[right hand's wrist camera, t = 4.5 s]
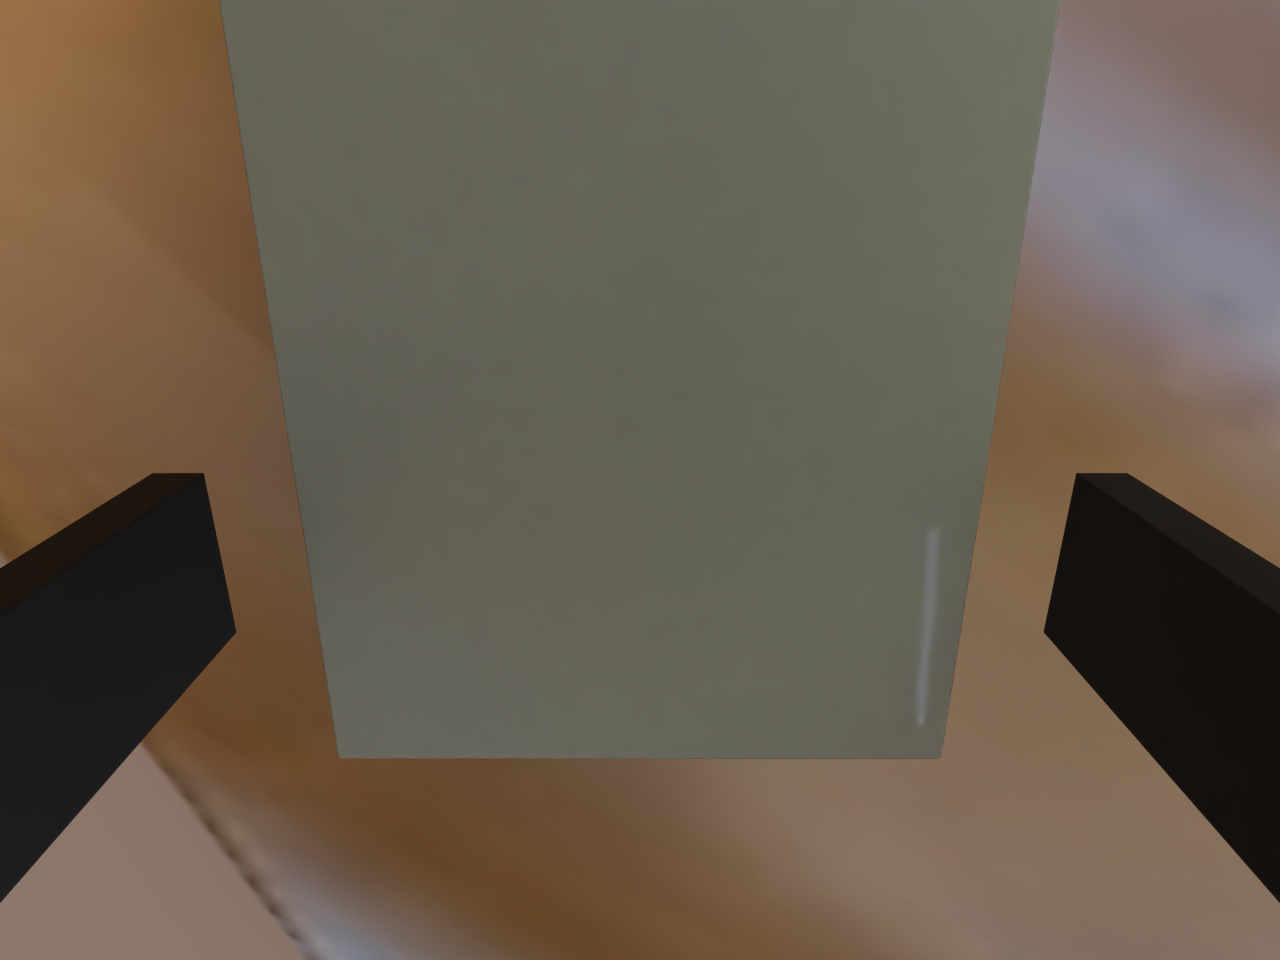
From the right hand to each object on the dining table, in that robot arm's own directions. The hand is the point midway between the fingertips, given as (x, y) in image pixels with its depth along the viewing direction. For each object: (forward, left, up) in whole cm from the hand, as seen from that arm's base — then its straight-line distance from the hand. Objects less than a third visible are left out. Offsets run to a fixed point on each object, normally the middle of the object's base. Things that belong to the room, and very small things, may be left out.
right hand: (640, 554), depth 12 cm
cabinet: (+4, +2, -11) cm, 12 cm away
